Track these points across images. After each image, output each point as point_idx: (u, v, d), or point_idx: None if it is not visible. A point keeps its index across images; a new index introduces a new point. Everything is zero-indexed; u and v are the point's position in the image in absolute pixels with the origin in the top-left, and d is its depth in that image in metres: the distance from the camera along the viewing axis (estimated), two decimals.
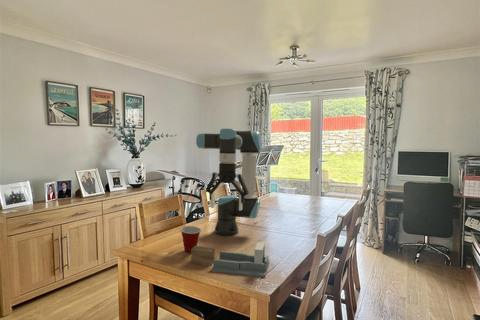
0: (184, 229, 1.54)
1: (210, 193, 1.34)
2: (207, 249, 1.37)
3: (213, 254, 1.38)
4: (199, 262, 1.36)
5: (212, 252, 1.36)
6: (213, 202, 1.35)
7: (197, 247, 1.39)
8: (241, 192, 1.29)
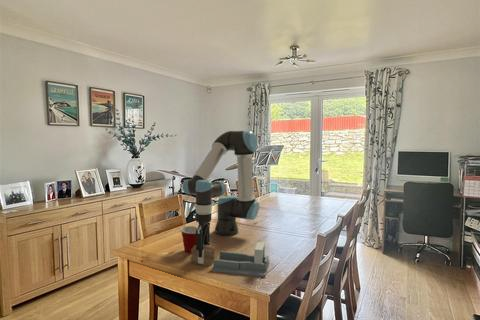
0: (184, 229, 1.54)
1: None
2: (207, 248, 1.37)
3: (213, 253, 1.38)
4: None
5: (212, 252, 1.36)
6: None
7: None
8: None
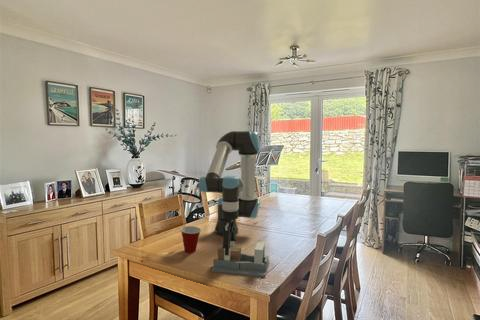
0: (184, 229, 1.54)
1: (229, 240, 1.40)
2: (234, 248, 1.34)
3: (240, 253, 1.35)
4: None
5: (239, 252, 1.33)
6: None
7: None
8: None
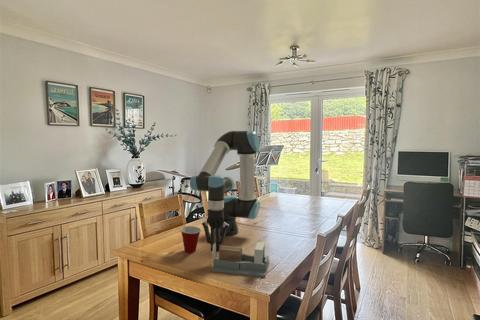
0: (184, 229, 1.54)
1: (212, 244, 1.35)
2: (235, 249, 1.34)
3: (241, 254, 1.35)
4: None
5: (240, 252, 1.33)
6: None
7: (224, 247, 1.36)
8: (217, 242, 1.35)
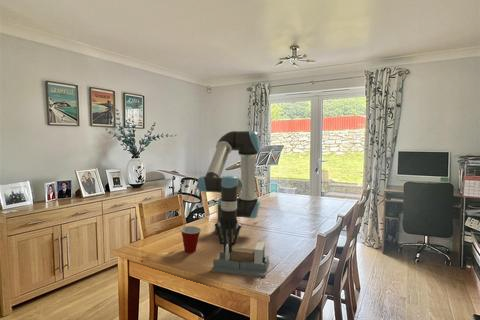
0: (184, 229, 1.54)
1: (225, 245, 1.34)
2: (248, 250, 1.33)
3: None
4: None
5: (253, 254, 1.32)
6: None
7: (237, 249, 1.34)
8: (230, 243, 1.33)
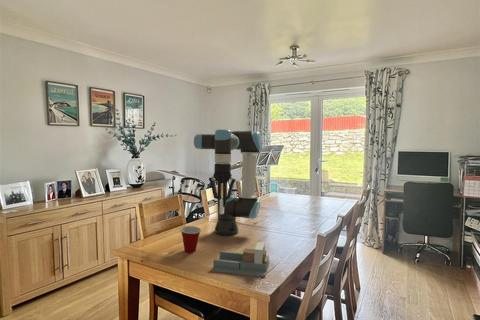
0: (184, 229, 1.54)
1: (219, 199, 1.34)
2: None
3: (265, 257, 1.32)
4: None
5: (265, 255, 1.30)
6: None
7: (248, 250, 1.33)
8: (225, 196, 1.33)
